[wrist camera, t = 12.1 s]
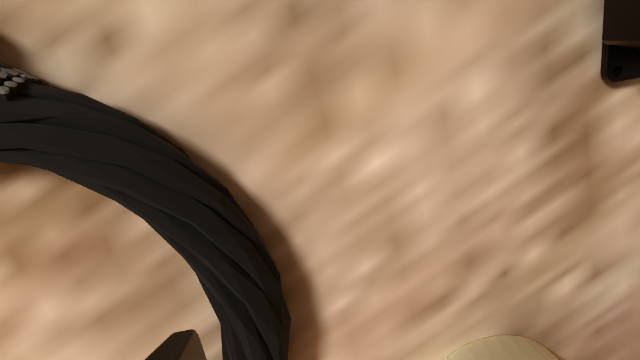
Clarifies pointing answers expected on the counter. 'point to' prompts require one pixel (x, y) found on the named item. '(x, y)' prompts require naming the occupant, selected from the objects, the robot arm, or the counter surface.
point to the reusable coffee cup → (502, 349)
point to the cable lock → (153, 201)
